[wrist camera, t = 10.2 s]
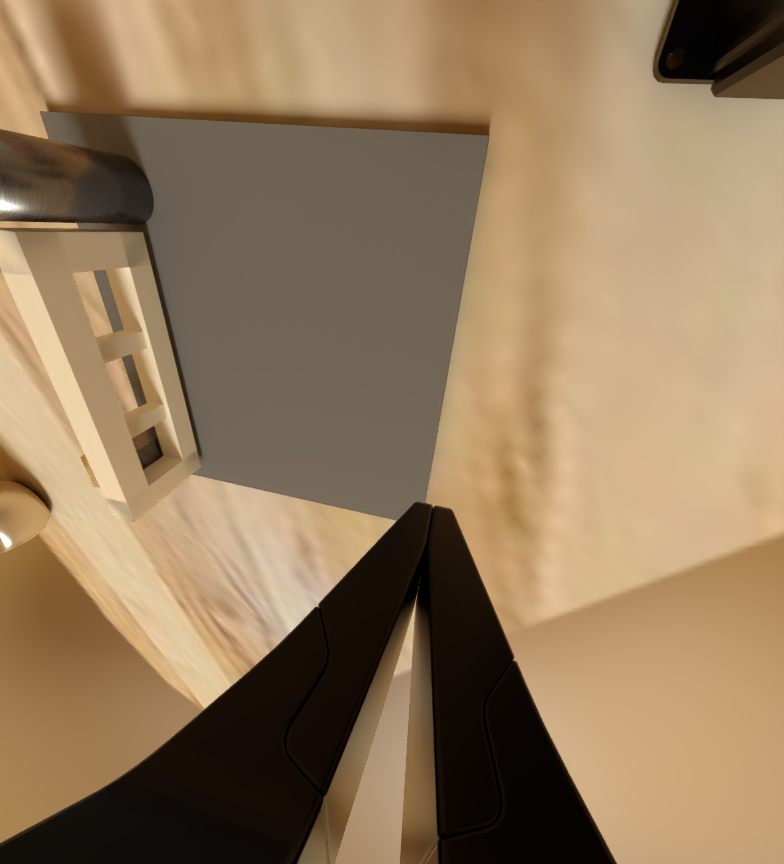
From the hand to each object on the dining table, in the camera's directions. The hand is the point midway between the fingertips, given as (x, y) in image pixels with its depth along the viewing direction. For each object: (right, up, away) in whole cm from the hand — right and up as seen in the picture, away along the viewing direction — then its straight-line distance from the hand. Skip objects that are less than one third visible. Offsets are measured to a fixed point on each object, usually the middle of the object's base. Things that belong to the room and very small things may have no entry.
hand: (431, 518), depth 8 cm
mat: (-8, +7, +14) cm, 17 cm away
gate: (-16, +6, +15) cm, 22 cm away
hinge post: (-15, +15, +11) cm, 23 cm away
